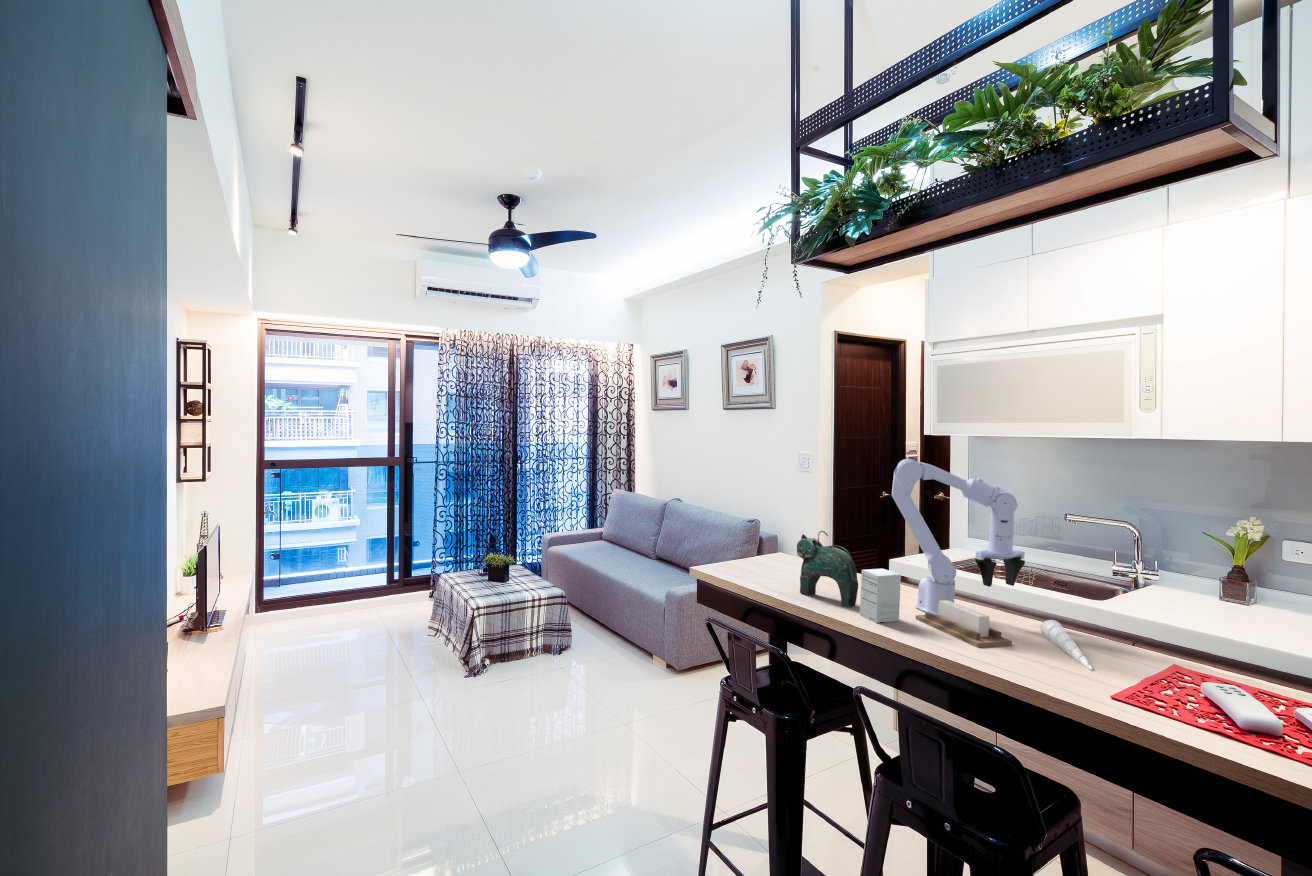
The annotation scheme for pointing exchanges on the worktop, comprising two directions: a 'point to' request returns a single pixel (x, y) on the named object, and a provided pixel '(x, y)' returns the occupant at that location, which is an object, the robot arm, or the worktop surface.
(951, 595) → the robot arm
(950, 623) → the railed tan base plate
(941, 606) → the white rectangular block
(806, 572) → the ceramic cat
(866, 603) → the supplement box
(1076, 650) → the unicorn horn
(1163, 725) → the worktop surface
